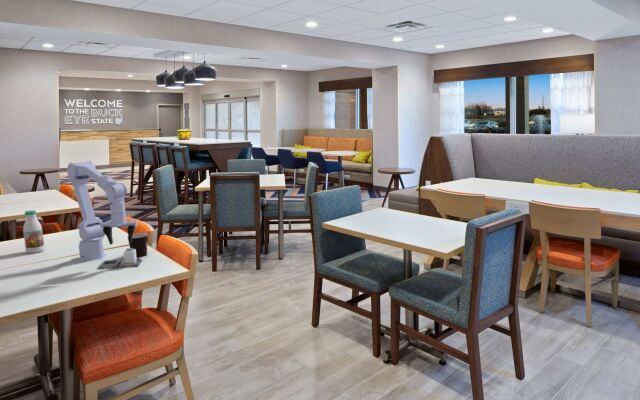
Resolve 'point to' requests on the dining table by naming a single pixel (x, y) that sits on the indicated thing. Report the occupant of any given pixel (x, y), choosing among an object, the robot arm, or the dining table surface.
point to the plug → (130, 255)
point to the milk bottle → (33, 233)
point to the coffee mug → (139, 244)
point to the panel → (118, 264)
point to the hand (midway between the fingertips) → (120, 243)
